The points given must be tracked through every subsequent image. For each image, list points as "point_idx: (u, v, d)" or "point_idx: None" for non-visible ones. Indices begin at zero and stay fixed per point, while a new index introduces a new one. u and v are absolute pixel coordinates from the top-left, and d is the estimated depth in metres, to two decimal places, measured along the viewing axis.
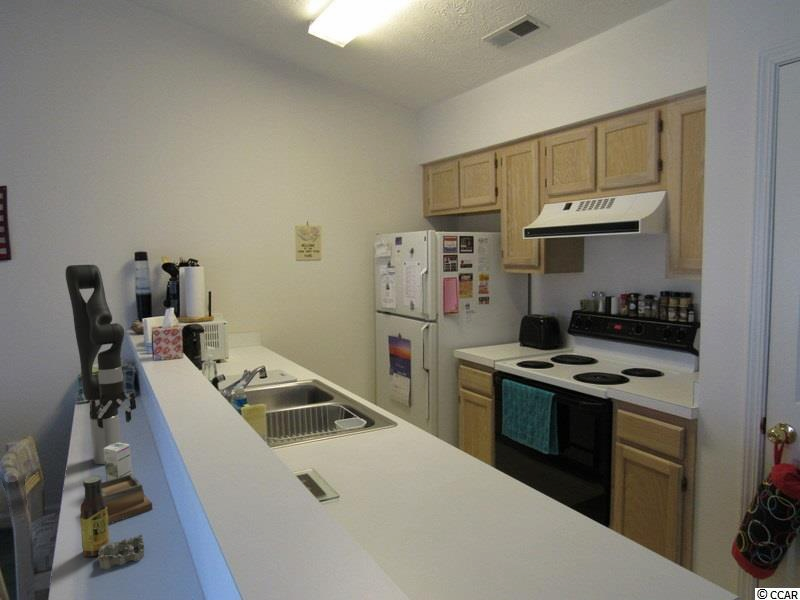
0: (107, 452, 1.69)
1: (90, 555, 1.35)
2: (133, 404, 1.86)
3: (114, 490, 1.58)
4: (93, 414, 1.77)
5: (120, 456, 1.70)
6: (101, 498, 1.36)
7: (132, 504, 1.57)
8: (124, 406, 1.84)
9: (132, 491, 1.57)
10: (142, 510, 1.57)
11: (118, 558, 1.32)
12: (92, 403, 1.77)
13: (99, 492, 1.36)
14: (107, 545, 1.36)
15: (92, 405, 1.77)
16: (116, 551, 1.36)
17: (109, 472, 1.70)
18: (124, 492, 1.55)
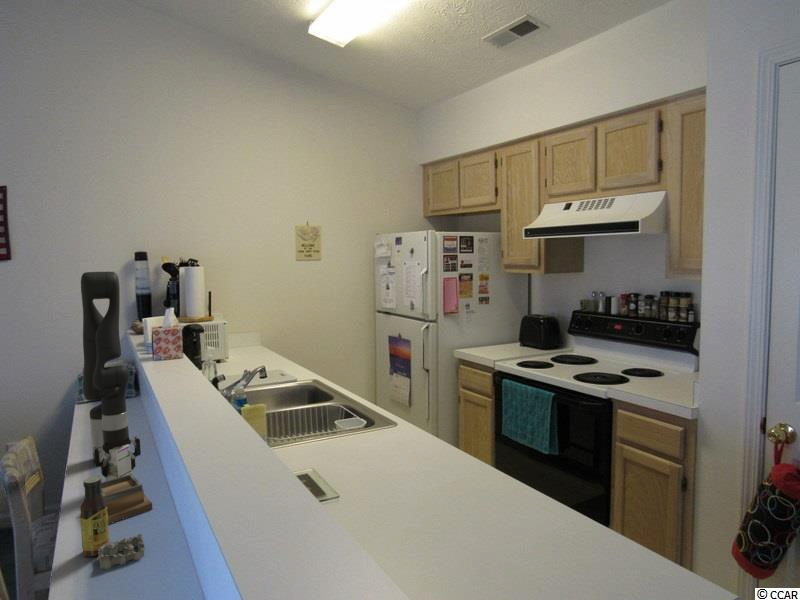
0: None
1: (90, 555, 1.35)
2: (138, 450, 1.75)
3: (114, 490, 1.58)
4: (97, 463, 1.67)
5: (120, 456, 1.70)
6: (101, 498, 1.36)
7: (132, 504, 1.57)
8: (128, 453, 1.73)
9: (132, 491, 1.57)
10: (142, 510, 1.57)
11: (118, 557, 1.32)
12: (95, 452, 1.66)
13: (99, 492, 1.36)
14: (106, 545, 1.36)
15: (95, 454, 1.66)
16: (116, 550, 1.36)
17: (110, 472, 1.70)
18: (124, 492, 1.55)
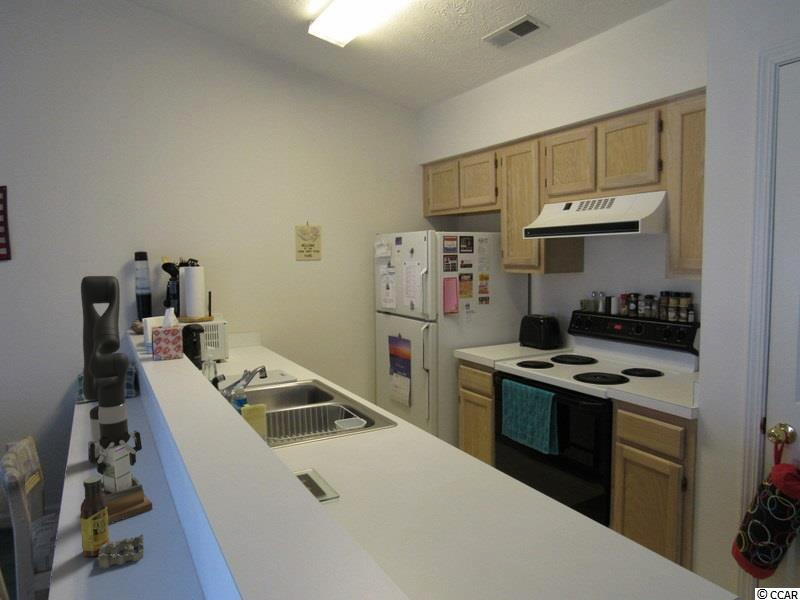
0: None
1: (90, 555, 1.35)
2: (138, 445, 1.61)
3: None
4: (92, 459, 1.52)
5: (118, 455, 1.55)
6: (101, 498, 1.36)
7: (132, 504, 1.57)
8: (128, 448, 1.58)
9: (132, 491, 1.57)
10: (142, 510, 1.57)
11: (117, 558, 1.32)
12: (91, 446, 1.52)
13: (99, 492, 1.36)
14: (108, 544, 1.36)
15: (91, 448, 1.52)
16: (117, 550, 1.36)
17: (106, 473, 1.56)
18: (124, 492, 1.55)
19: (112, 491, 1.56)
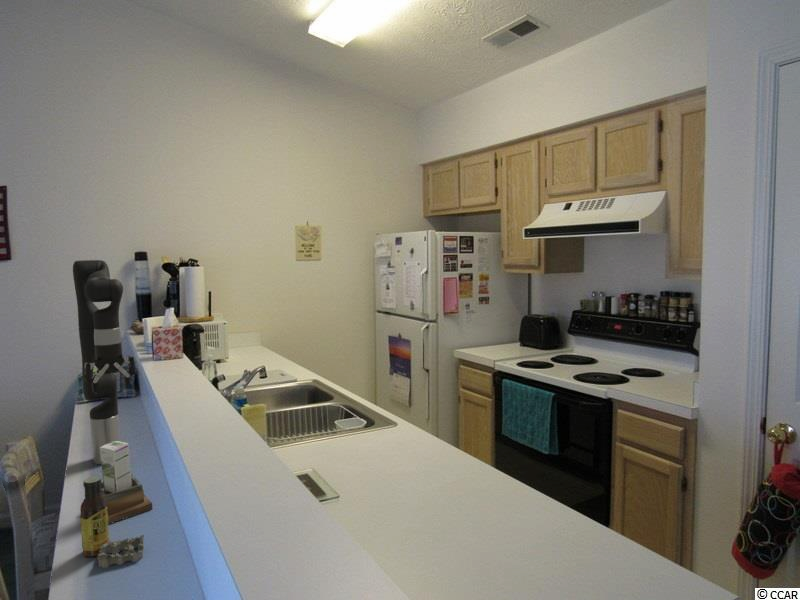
0: (104, 452, 1.55)
1: (90, 555, 1.35)
2: (132, 369, 1.69)
3: None
4: (88, 378, 1.60)
5: (118, 456, 1.55)
6: (101, 498, 1.36)
7: (132, 504, 1.57)
8: (122, 371, 1.67)
9: (132, 491, 1.57)
10: (142, 510, 1.57)
11: (116, 557, 1.32)
12: (87, 366, 1.60)
13: (99, 492, 1.36)
14: (109, 543, 1.37)
15: (87, 368, 1.60)
16: (117, 549, 1.37)
17: (106, 474, 1.56)
18: (124, 492, 1.55)
19: (112, 491, 1.56)
